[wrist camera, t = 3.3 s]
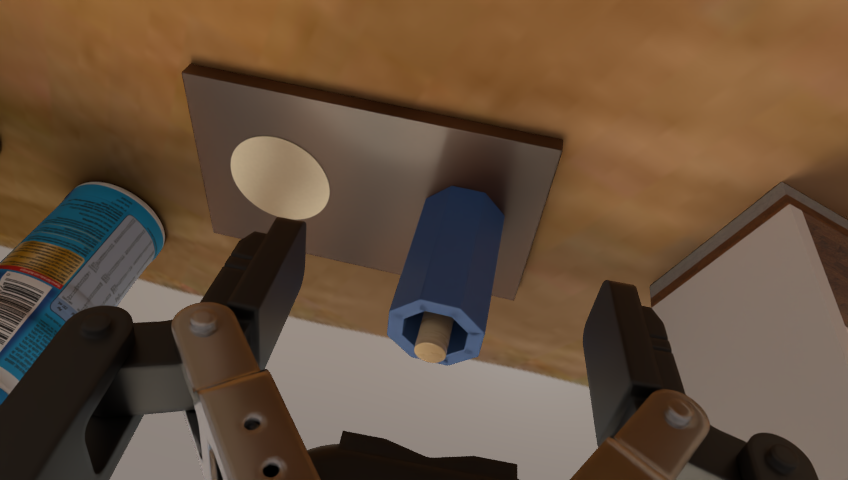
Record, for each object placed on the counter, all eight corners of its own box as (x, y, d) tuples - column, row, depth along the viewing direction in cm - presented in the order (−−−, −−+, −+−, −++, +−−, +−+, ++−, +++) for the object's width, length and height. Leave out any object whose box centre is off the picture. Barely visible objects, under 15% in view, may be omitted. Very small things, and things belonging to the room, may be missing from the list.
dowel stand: (220, 222, 48) (134, 347, 39) (190, 63, 38) (67, 181, 29) (515, 289, 46) (495, 436, 37) (563, 139, 36) (552, 290, 28)
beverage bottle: (189, 239, 50) (28, 463, 36) (129, 263, 54) (-36, 472, 40) (111, 162, 46) (-107, 382, 32) (52, 195, 50) (-164, 402, 36)
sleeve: (420, 238, 43) (385, 351, 36) (428, 180, 39) (390, 292, 32) (494, 255, 43) (473, 372, 35) (509, 197, 39) (490, 315, 32)
